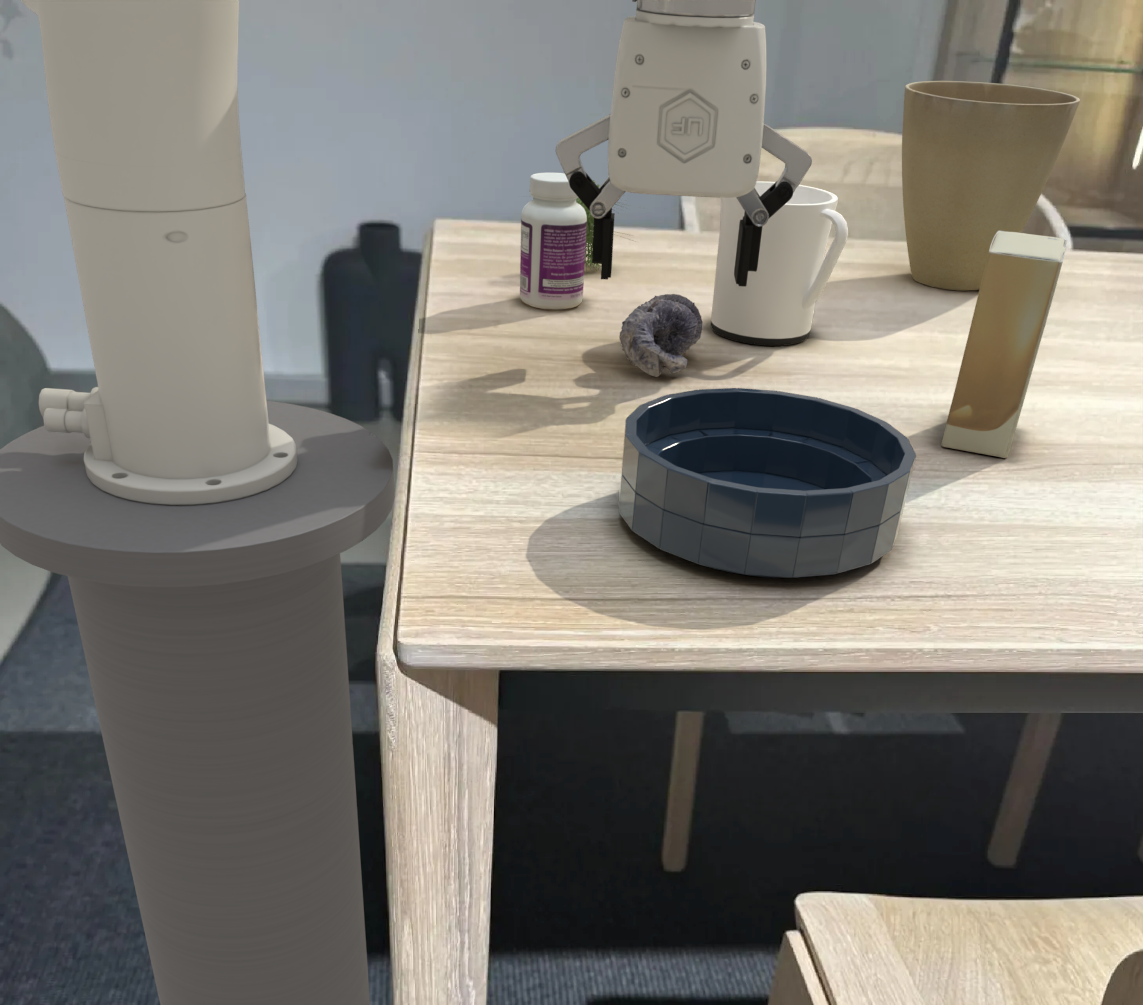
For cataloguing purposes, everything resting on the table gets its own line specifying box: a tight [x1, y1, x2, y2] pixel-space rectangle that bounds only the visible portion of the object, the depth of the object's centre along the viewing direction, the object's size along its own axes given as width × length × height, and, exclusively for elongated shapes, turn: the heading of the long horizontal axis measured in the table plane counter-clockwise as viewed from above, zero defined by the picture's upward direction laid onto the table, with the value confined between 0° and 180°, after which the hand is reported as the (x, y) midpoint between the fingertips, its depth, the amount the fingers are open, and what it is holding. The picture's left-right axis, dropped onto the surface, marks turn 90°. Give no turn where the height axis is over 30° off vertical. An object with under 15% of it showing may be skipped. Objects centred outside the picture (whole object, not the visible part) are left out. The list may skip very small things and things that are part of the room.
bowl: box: [618, 387, 917, 579], centre depth 64 cm, size 15×15×5 cm
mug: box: [710, 180, 849, 347], centre depth 93 cm, size 11×9×10 cm
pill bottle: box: [519, 172, 587, 310], centre depth 97 cm, size 5×5×10 cm
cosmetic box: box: [941, 231, 1068, 459], centre depth 75 cm, size 6×4×12 cm
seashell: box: [619, 293, 704, 378], centre depth 87 cm, size 5×5×10 cm
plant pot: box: [901, 80, 1081, 291], centre depth 109 cm, size 15×15×16 cm
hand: (672, 278), depth 85 cm, fingers open, 9 cm apart
